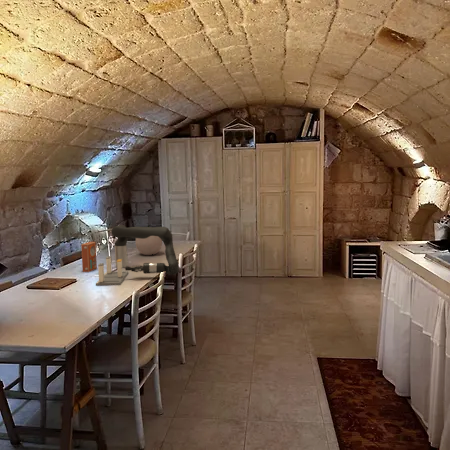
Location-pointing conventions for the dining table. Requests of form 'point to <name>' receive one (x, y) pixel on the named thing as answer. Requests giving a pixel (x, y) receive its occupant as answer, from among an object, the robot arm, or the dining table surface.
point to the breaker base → (109, 275)
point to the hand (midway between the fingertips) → (125, 268)
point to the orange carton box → (89, 256)
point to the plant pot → (149, 245)
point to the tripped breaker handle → (119, 267)
